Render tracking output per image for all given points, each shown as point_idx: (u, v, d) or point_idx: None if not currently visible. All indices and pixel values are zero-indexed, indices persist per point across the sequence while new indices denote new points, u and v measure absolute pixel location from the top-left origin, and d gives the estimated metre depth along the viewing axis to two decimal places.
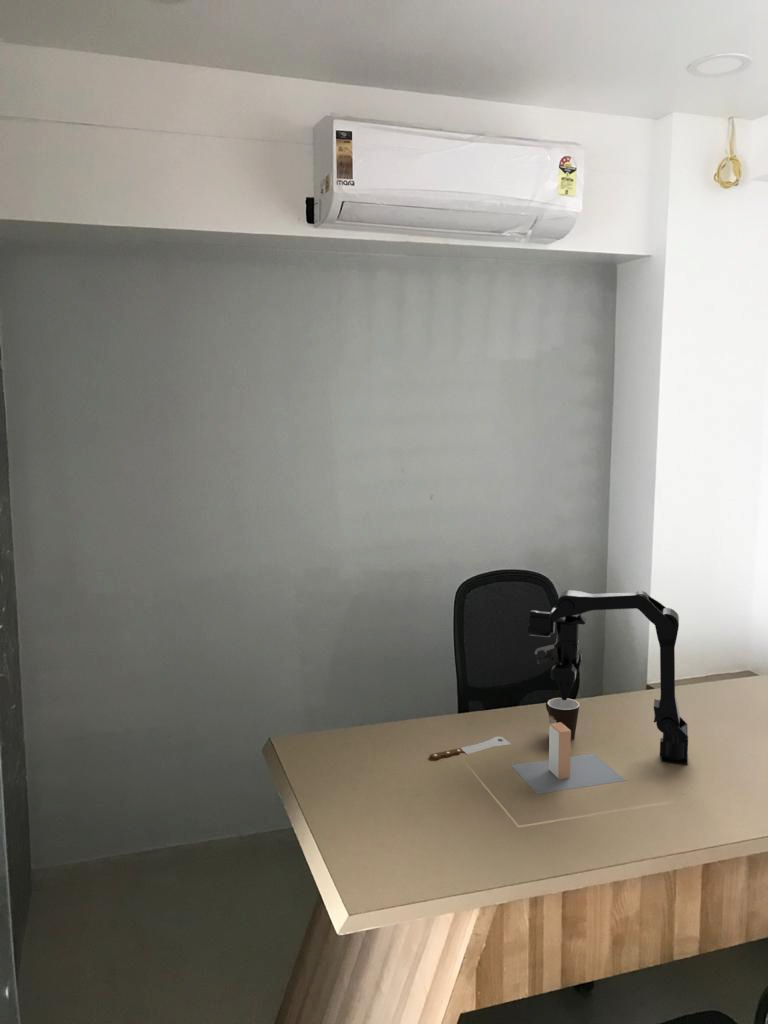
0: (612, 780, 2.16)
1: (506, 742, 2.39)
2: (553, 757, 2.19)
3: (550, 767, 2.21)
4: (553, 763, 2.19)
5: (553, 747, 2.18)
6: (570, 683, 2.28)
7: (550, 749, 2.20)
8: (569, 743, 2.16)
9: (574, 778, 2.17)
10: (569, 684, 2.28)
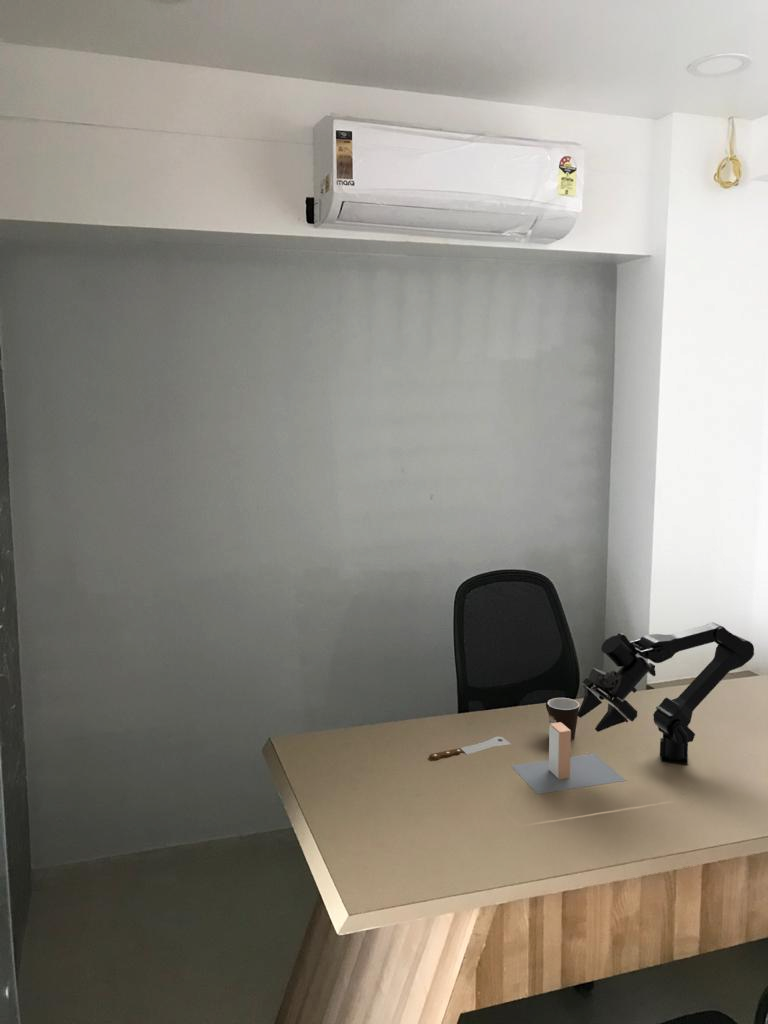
0: (612, 780, 2.16)
1: (506, 742, 2.39)
2: (553, 757, 2.19)
3: (550, 767, 2.21)
4: (553, 763, 2.19)
5: (553, 747, 2.18)
6: (618, 721, 2.15)
7: (550, 749, 2.20)
8: (569, 743, 2.16)
9: (574, 778, 2.17)
10: (616, 721, 2.15)
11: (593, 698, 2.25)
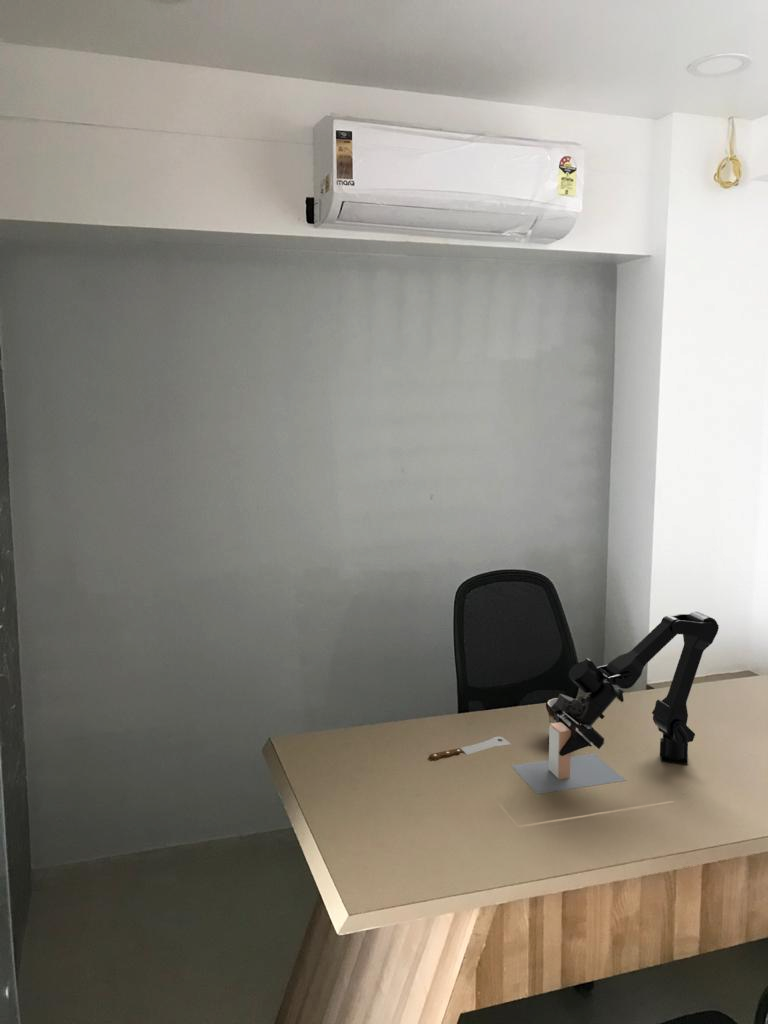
0: (612, 780, 2.16)
1: (506, 742, 2.39)
2: (553, 757, 2.19)
3: (550, 767, 2.21)
4: (553, 763, 2.19)
5: (553, 747, 2.18)
6: (582, 745, 2.15)
7: (550, 749, 2.20)
8: None
9: (574, 778, 2.17)
10: (580, 745, 2.15)
11: None
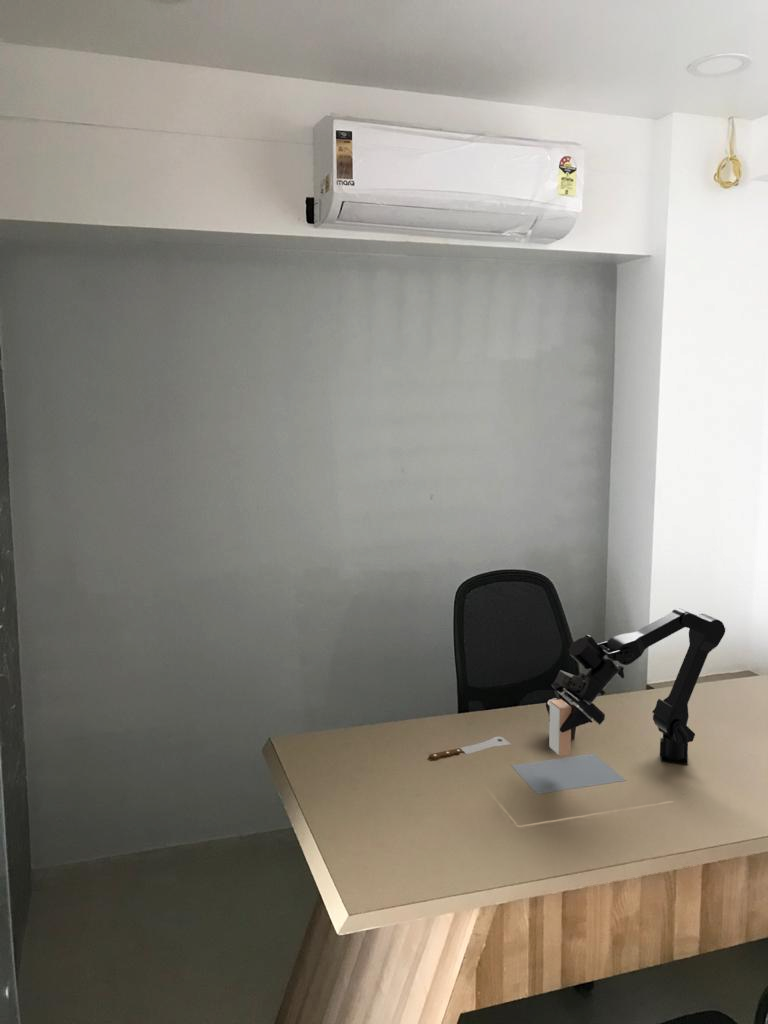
0: (612, 780, 2.16)
1: (506, 742, 2.39)
2: (554, 734, 2.18)
3: (551, 744, 2.20)
4: (554, 740, 2.18)
5: (553, 724, 2.17)
6: (583, 721, 2.14)
7: (550, 726, 2.19)
8: None
9: (574, 778, 2.17)
10: (581, 721, 2.14)
11: None
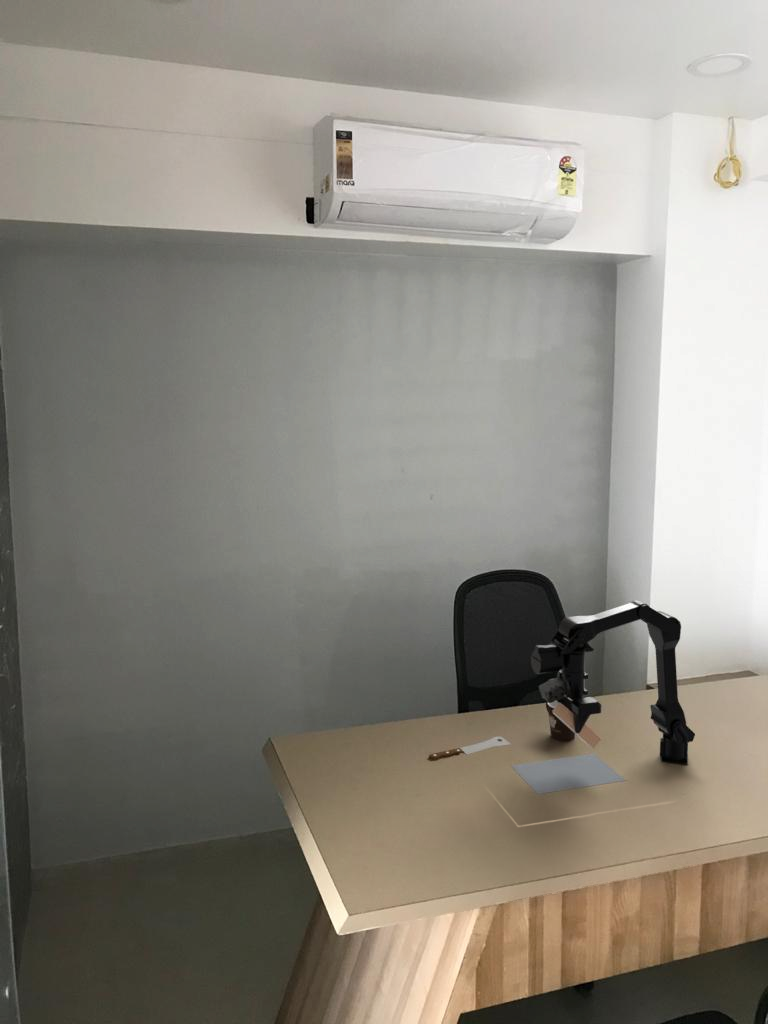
0: (612, 780, 2.16)
1: (506, 742, 2.39)
2: None
3: (581, 739, 2.22)
4: (580, 737, 2.20)
5: None
6: None
7: (569, 728, 2.21)
8: None
9: (574, 778, 2.17)
10: (586, 715, 2.14)
11: (566, 700, 2.21)
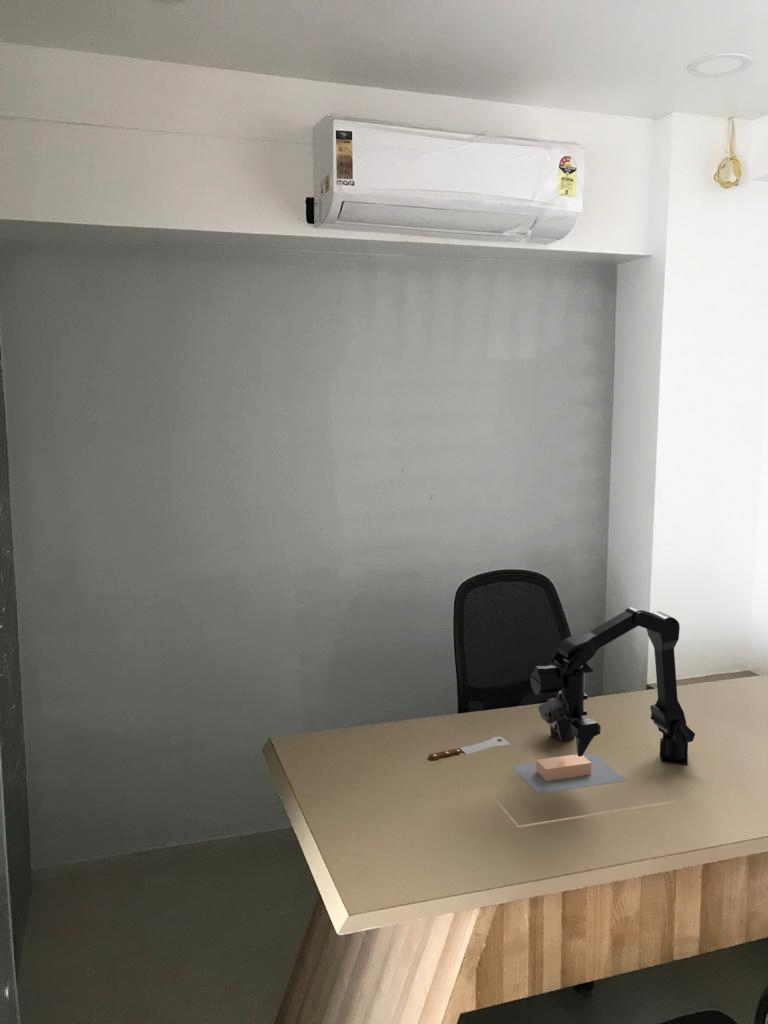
0: (612, 780, 2.16)
1: (505, 742, 2.39)
2: None
3: None
4: None
5: None
6: (590, 737, 2.13)
7: None
8: (558, 768, 2.16)
9: (574, 778, 2.17)
10: (589, 738, 2.13)
11: (562, 718, 2.23)
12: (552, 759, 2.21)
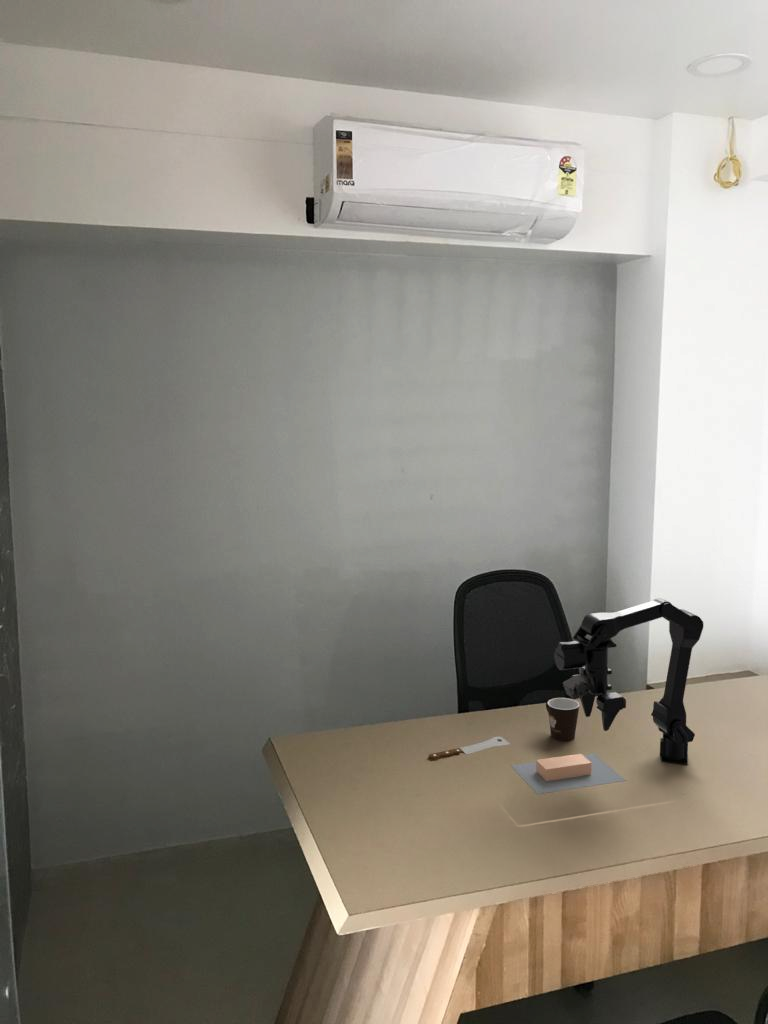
0: (612, 780, 2.16)
1: (505, 742, 2.39)
2: None
3: None
4: None
5: None
6: (615, 711, 2.15)
7: None
8: (558, 768, 2.16)
9: (574, 778, 2.17)
10: (614, 712, 2.15)
11: (587, 693, 2.25)
12: (552, 759, 2.21)
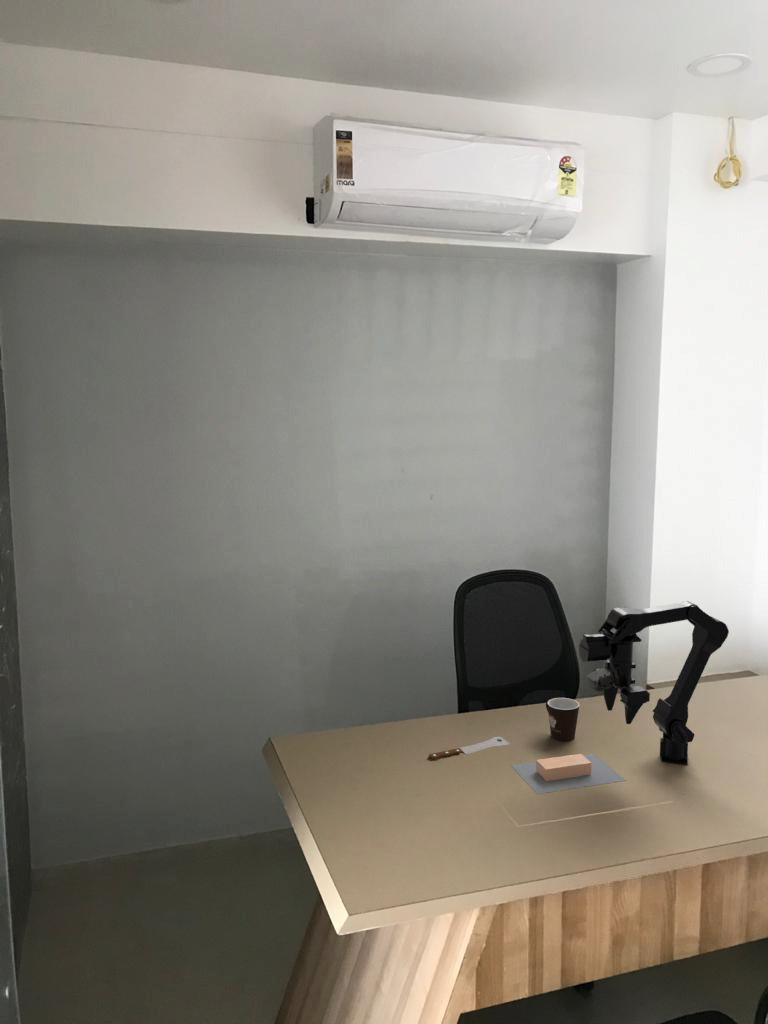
0: (612, 780, 2.16)
1: (505, 742, 2.39)
2: None
3: None
4: None
5: None
6: (639, 705, 2.17)
7: None
8: (558, 768, 2.16)
9: (574, 778, 2.17)
10: (637, 706, 2.17)
11: (609, 687, 2.27)
12: (552, 759, 2.21)
